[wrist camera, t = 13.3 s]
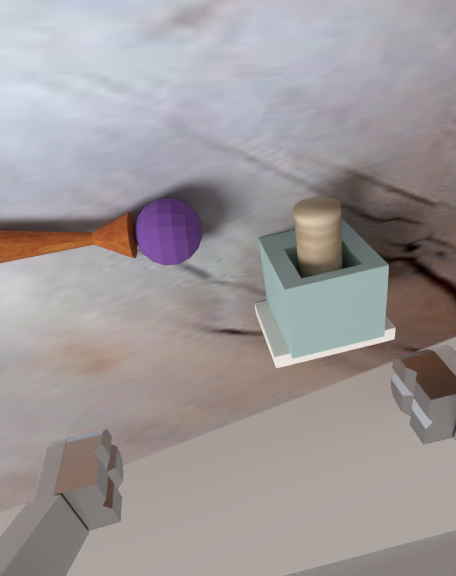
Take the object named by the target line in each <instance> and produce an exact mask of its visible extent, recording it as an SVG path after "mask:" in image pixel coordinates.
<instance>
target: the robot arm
mask: <svg viewBox="0 0 456 576" xmlns="http://www.w3.org/2000/svg"><path fill="white" fill-rule="evenodd" d="M392 368H393V369H394V371H395V372H396V374H395V375H394V376H393V377H392V379H391V389H392V394H393V397H394V399H395V401H396V403H397V405H398V407H399V408H400V410H401V411H402V412H404V413H406V414H408V415H409V416H411V419H410V425H411V427H412V428H413V430H414V431H415V433H416V434H417V436H418V437H419V439H420V440H421V442H422V443H423V444H428V443H432V442H436V441H441V440H445V439H450V438H454V440H456V351H455V350H454V349H453V348H452V347H451V346H449V345H445V346H440V347H436V348H432V349H429V350H428V349H427V350H423V351H419V352H415V353H412V354H408V355H404V356H400V357H396V358H395V359H394V360H393V365H392ZM111 438H112V437H111V435H110V433H109V432H108V430H101V431H96V432H91V433H87V434H82V435H78V436H73V437H69V438H65V439H60V440H56V441H52V442H50V443H49V445H48V446H47V448H46V451H45V455H44V459H43V463H42V467H41V471H40V475H39V479H38V483H37V487H36V491H35V495H34V499H33V501H31V502H28V503H27V504H26V505H25V506H24V508H23V509H22V510H21V512H20V513H19V514H18V515H17V516H16V518H15V519H14V520H13V521H12V522H11V524H10V525H9V526H8V527H7V529H6V530H5V531H4V532H3V534H2V535H1V536H0V576H66V574H67V572H68V570H69V569H70V567H71V565H72V563H73V561H74V559H75V558H76V556H77V554H78V552H79V550H80V549H81V547H82V545H83V543H84V541H85V539H86V537H87V536H88V534H89V532H88V531H90V530H93V529H96V528H100V527H104V526H107V525H111V524H114V523H118V522H120V520H121V504H122V496H121V494H120V493H119V491H118V488H119V486H120V485H121V483H122V482H123V463H122V458H121V455H120V452H119V450H118V448H117V446H114V445H112V444H111ZM286 576H456V531H452V532H448V533H444V534H441V535H437V536H433V537H429V538H426V539H422V540H418V541H414V542H411V543H407V544H403V545H399V546H395V547H392V548H388V549H384V550H381V551H377V552H373V553H369V554H365V555H361V556H358V557H354V558H351V559H346V560H342V561H339V562H335V563H331V564H327V565H324V566H320V567H316V568H312V569H309V570H305V571H301V572H297V573H294V574H290V575H286Z"/></svg>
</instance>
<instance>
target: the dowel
mask: <svg viewBox="0 0 456 576" xmlns="http://www.w3.org/2000/svg"><path fill="white" fill-rule="evenodd" d="M293 211H294V221H295V232H296V242H297V252H298V263H299V273H300V277H301V279H302V278H306V277H310V276H315V275H319V274H323V273H327V272H331V271H336V270H340V269H342V232H341V203H340V201H339V200H337V199H335V198H332V197H312V198H308V199H304V200H302V201H300V202H298V203H297V204H295V206H294V207H293Z"/></svg>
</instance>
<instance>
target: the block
mask: <svg viewBox="0 0 456 576" xmlns="http://www.w3.org/2000/svg"><path fill="white" fill-rule="evenodd" d="M341 232H342V269H340V270H336V271H331V272H327V273H323V274H319V275H315V276H310V277H306V278H302V279H301V277H300V273H299V263H298V252H297V242H296V232H295V230H292V231H287V232H283V233H279V234H274V235H270V236H266V237H261V238H258V239H259V246H260V254H261V261H262V268H263V275H264V282H265V289H266V296H267V301H268V303H269V306H270V308H271V310H272V313H273V315H274V317H275V320H276V322H277V324H278V327H279V329H280V331H281V334H282V336H283V338H284V341H285V343H286V345H287V348H288V350H289V352H290V355H291V357H292V359H294V358H298V357H302V356H306V355H310V354H314V353H318V352H322V351H326V350H330V349H334V348H339V347H343V346H347V345H351V344H355V343H359V342H363V341H367V340H371V339H375V338H379V337H384V332H385V317H386V302H387V287H388V272H389V265H388V264H387V263H386V262H385V261H384V260H383V259H382V258H381V257H380V256H379V255H378V254H377V253H376V252H375V251H374V250H373V249H372V248H371V247H370V246H369V245H368V244H367V243H366V242H365V241H364V240H363V239H362V238H361V237H360V236H359V235H358V234H357V233H356V232H355V231H354V230H353V229H352V228H351V227H350V226H349V225H348V224H347V223H346V222H345V221H344V220H343V219H341Z"/></svg>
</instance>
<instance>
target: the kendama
mask: <svg viewBox="0 0 456 576" xmlns="http://www.w3.org/2000/svg"><path fill="white" fill-rule="evenodd" d="M201 238H202V227H201V221H200V219H199V218H198V216H197V214H196V212H195V210H193V209H192V208H191V207H190V206H189V205H187V204H186V203H185V202H182V201H179V200H176V199H173V198H166V199H157V200H155V201H153V202H151V203H150V204H148V205H146V206H145V207H144V208H143V210H142V211H141V212H140V213H139V215H138V217H137V220H136V224H135V223H134V219H133V216H132V214H131V212H127V213H125V214H124V215H122V216H120V217H118V218H117V219H115V220H113V221H111V222H110V223H108V224H106V225H105V226H103V227H101V228H99V229H98V230H96V231H94V232H48V231H0V263H4V262H9V261H14V260H19V259H24V258H29V257H34V256H39V255H44V254H49V253H54V252H59V251H64V250H69V249H74V248H79V247H84V246H89V245H97V246H100V247H103V248H106V249H109V250H111V251H114V252H117V253H120V254H123V255H126V256H129V257H132V258H136V256H137V244H138V246H139V248H140V250H141V252H142V253H143V254H144V255H145V256H147V257H148V258H149V259H150V260H152V261H153V262H156V263H159V264H163V265H174V264H180V263H181V262H183V261H185V260H187V259H189V258H190V257H191V256H192V255H193V254H194V253H195V251H196V250H197V249H198V248H199V244H200V241H201Z"/></svg>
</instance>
